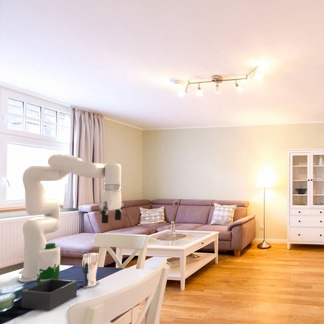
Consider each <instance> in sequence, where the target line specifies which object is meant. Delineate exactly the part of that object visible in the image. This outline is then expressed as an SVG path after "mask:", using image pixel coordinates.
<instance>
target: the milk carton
mask: <svg viewBox="0 0 324 324" xmlns="http://www.w3.org/2000/svg"><path fill="white" fill-rule="evenodd" d="M60 271H61V246H56V243H55V242H50V243H47V244H46V246H45V248H42V249H41V250H40V251H39V254H38V267H37V282H36V283H37V284H36V285H38V284H40V283H42V282H45V281H47V280H50V279H59V278H60Z"/></svg>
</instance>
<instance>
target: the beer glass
mask: <svg viewBox="0 0 324 324" xmlns="http://www.w3.org/2000/svg"><path fill="white" fill-rule="evenodd" d="M98 269H99V253H98V252H87V253H85V254H83V255H82V262H81V270H82V275H83V280H82V281H83V282H82V287H83V288H91V287H92V288H93V287H94V286H96V285H97V283H98V282H97V272H98Z"/></svg>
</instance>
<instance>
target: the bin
mask: <svg viewBox="0 0 324 324" xmlns="http://www.w3.org/2000/svg"><path fill="white" fill-rule="evenodd" d="M77 293H78V280H73V279H72V280H71V279H50V280H47V281H45V282H42V283H40V284H36V285H33V286H30V287H27V288H25V289H23V290H22V291H21V307H20V308H23V309H30V310H31V309H32V310H40V311H51V310H54V309H55V308H57V307H59V306H61V305H63V304H64V303H66V302H68V301H70V300H72V299H74V298H76V297H77V296H78V295H77Z"/></svg>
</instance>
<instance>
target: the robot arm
mask: <svg viewBox="0 0 324 324" xmlns="http://www.w3.org/2000/svg"><path fill="white" fill-rule="evenodd" d="M47 164H48V165H45V164H34V165H31V166H28V167H27V168H26V169H25V170H24V172H23V174H22V184H23V188H24V199H25V211H26V214H27V215H29V216H38V217H34V218H30V219H28V220H26V221H25V222H24V223H23V225H22V234H23V241H24V242H23V243H24V245H23V247H24V248H23V249H24V250H23V268H21V270H19V271H18V274H20V275H21V276H20V277H19V278H18V281H19V282H22V283H30V282H36V281H37V267H38V254H39V251H40V250H41V249H42V248H45V246H46V244H48V242H47V239H46V237H45V235H47V234H52V233H55V232H57V231H58V230H59V229H60V227H61V208H60V207H61V205H60V202H59V200H58V199H57V198H56V197H54V196H46V189H45V186H44V185H43V183H42V182H56V181H57V182H58V181H60V180H63V178H65V177H67V176H68V175H69V174H73V175H75V176H79V177H83V178H88V179H104V183H103V184H104V186H103V187H104V188H103V191H102V194H101V202H100V205H99V206H98V209H99V213H100V215H101V224H109V212H110V211H111V212H112V211H115V212H114V221H121V220H122V212H123V209H124V206H125V203H124V202H122V165H121V164H120V163H102V162H101V163H98V162H90V161H83V159H82V158H80V157H77V156H75V155H72V154H64V153H55V154H53V155H50V156H49V158H48V159H47ZM41 215H44V216H41ZM39 216H40V217H39Z"/></svg>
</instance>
